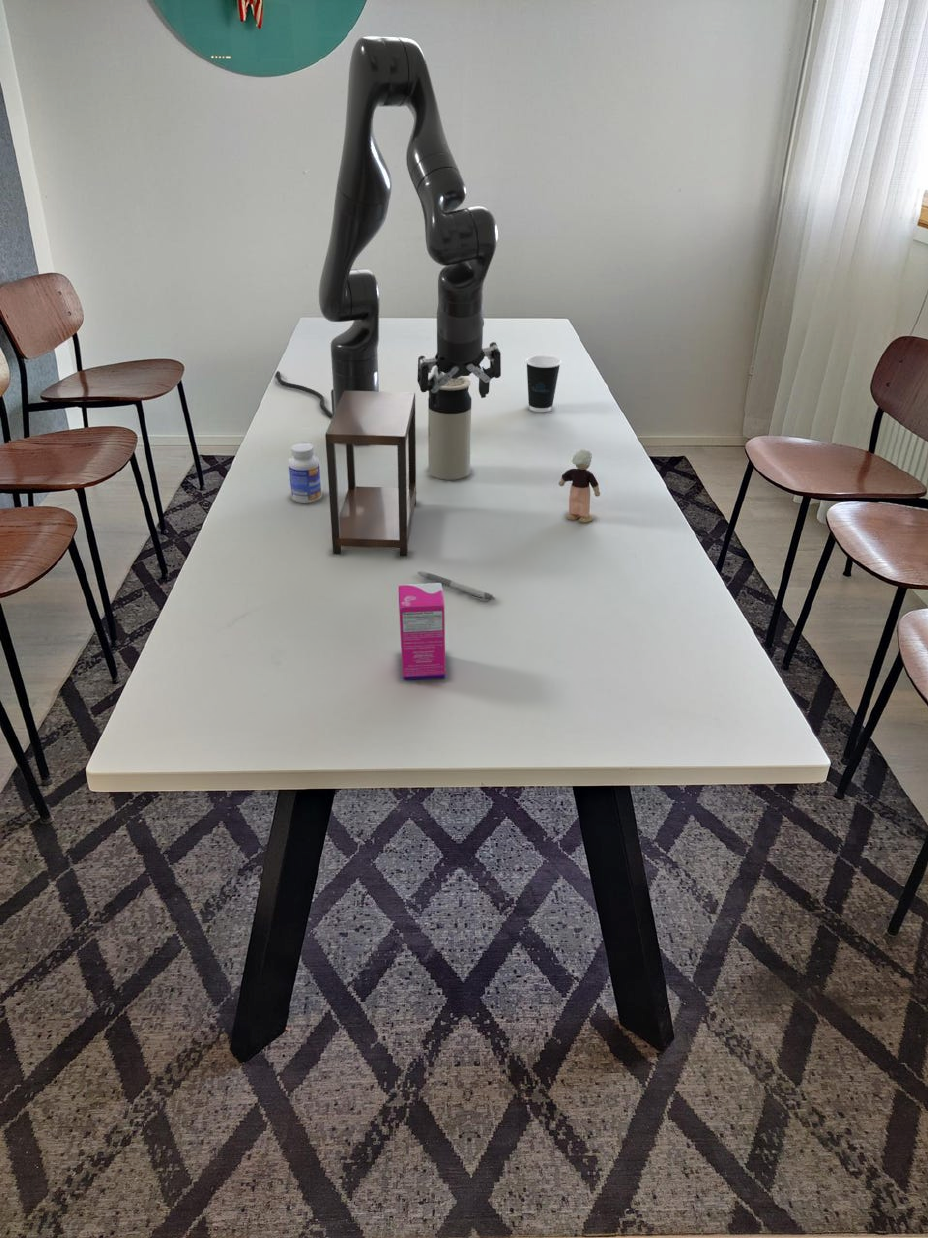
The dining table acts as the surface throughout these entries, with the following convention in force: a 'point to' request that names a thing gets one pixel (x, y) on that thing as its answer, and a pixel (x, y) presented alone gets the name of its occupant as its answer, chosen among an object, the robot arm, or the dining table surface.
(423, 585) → the supplement box
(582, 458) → the grandmother figurine
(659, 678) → the dining table surface
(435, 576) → the pen
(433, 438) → the travel mug
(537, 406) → the dixie cup
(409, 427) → the shelf
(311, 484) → the pill bottle
